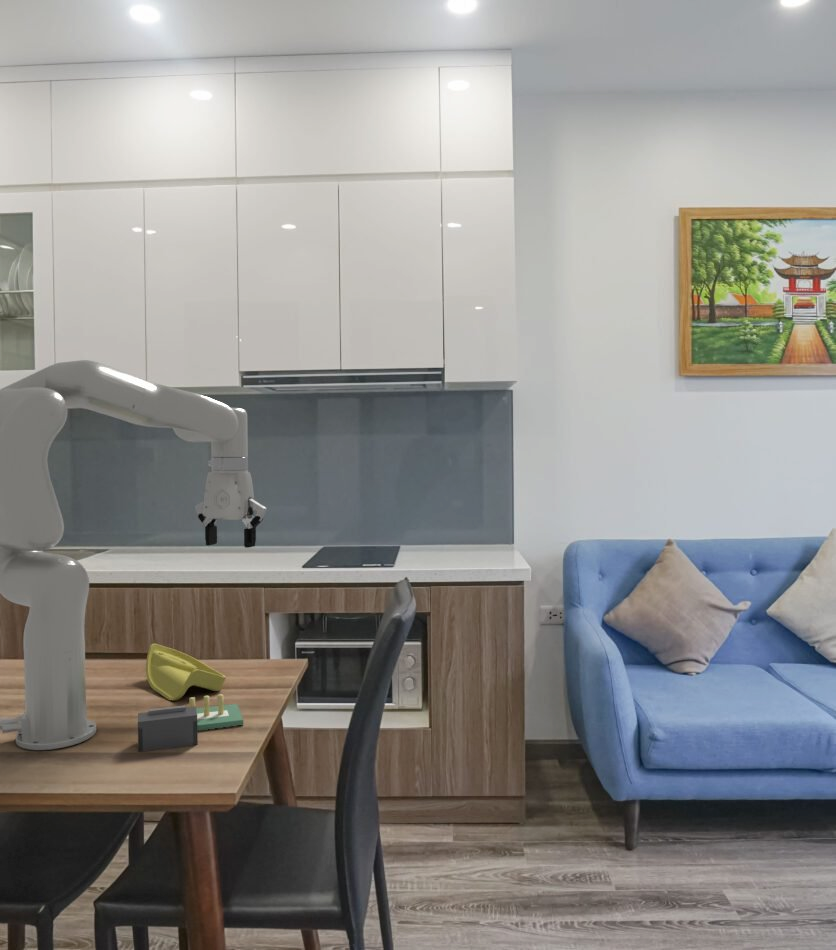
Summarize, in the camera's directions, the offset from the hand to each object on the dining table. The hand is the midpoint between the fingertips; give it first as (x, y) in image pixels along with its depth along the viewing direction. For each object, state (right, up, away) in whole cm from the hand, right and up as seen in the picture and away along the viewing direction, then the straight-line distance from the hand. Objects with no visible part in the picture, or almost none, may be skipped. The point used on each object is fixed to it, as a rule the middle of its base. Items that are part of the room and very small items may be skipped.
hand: (230, 545), depth 165 cm
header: (+2, -30, -24) cm, 38 cm away
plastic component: (-9, -29, -3) cm, 31 cm away
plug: (-2, -30, -35) cm, 46 cm away
